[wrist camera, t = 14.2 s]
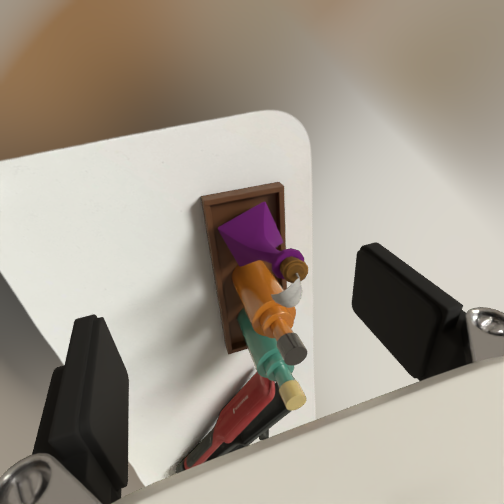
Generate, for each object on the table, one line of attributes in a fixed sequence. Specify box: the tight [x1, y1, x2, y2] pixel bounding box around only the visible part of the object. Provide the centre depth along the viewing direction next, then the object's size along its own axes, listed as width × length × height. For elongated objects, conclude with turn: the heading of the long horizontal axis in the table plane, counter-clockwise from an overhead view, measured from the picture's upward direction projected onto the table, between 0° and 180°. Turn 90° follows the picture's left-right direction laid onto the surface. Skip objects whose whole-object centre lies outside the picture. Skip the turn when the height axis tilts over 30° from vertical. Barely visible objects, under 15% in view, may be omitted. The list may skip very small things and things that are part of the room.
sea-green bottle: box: [237, 308, 306, 410], centre depth 51 cm, size 6×6×18 cm
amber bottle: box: [231, 260, 307, 366], centre depth 46 cm, size 6×6×18 cm
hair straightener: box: [176, 372, 295, 473], centre depth 70 cm, size 16×40×8 cm, turn 144°
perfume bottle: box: [218, 202, 308, 308], centre depth 41 cm, size 8×8×18 cm
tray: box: [201, 182, 287, 354], centre depth 53 cm, size 30×12×2 cm, turn 4°
